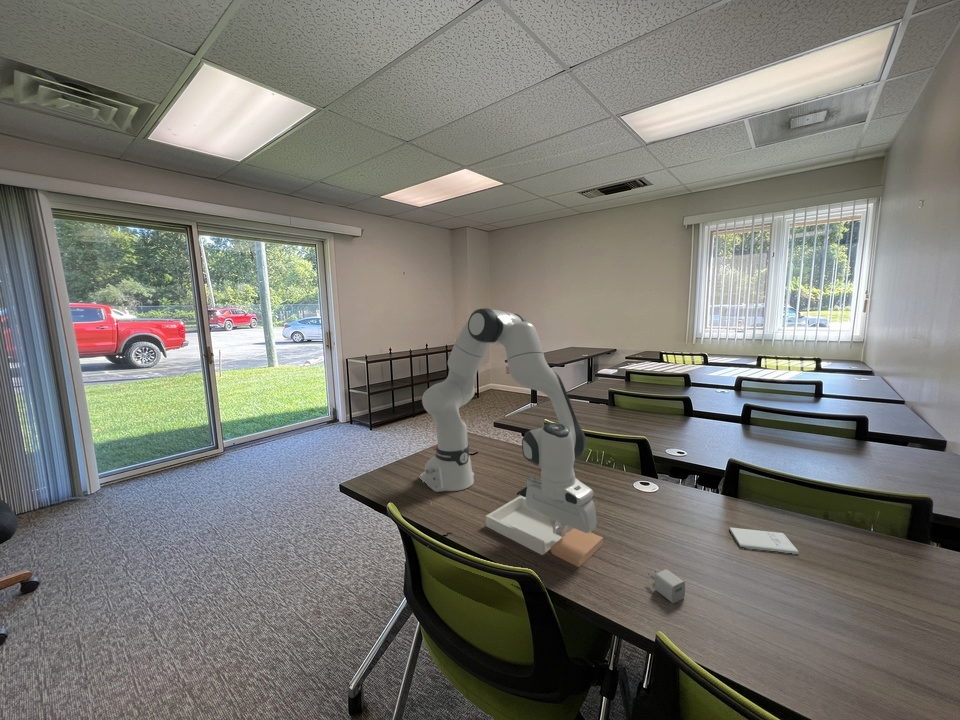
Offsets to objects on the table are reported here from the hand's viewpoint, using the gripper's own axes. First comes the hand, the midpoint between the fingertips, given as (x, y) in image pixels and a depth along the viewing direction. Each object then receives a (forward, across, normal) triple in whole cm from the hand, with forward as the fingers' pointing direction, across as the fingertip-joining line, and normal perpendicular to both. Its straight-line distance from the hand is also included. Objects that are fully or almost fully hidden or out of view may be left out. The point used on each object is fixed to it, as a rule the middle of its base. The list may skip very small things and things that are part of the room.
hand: (559, 534), depth 101 cm
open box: (+2, -10, 0) cm, 10 cm away
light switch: (+3, -20, +22) cm, 30 cm away
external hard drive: (+4, +39, +35) cm, 52 cm away
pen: (+3, -20, -12) cm, 23 cm away
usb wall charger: (+3, +27, +1) cm, 27 cm away
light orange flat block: (+3, +6, 0) cm, 6 cm away
